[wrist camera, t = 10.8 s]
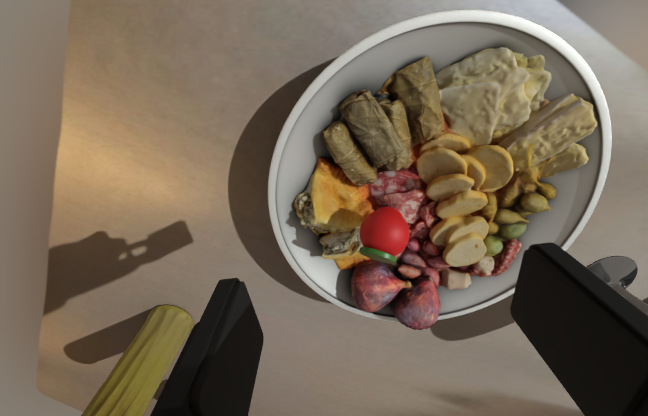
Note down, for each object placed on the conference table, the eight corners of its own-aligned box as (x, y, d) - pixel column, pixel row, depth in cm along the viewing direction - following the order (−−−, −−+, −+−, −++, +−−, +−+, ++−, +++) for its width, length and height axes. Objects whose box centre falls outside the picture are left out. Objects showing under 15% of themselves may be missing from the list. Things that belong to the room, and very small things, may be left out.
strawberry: (361, 203, 25) (346, 250, 24) (380, 193, 21) (363, 248, 20) (401, 220, 26) (388, 266, 24) (425, 212, 22) (411, 266, 21)
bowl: (257, 28, 24) (227, 11, 17) (620, 12, 23) (750, -13, 16) (289, 294, 37) (281, 347, 30) (518, 289, 36) (564, 342, 29)
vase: (142, 321, 40) (55, 441, 27) (161, 297, 37) (76, 414, 25) (181, 340, 41) (116, 461, 29) (201, 318, 39) (141, 438, 26)
